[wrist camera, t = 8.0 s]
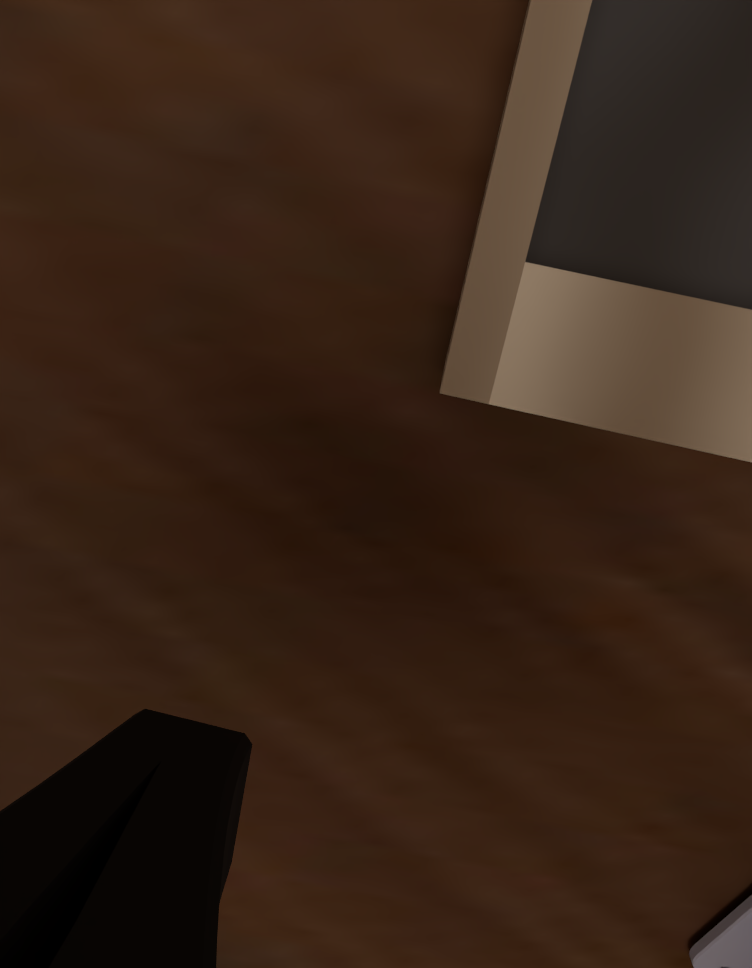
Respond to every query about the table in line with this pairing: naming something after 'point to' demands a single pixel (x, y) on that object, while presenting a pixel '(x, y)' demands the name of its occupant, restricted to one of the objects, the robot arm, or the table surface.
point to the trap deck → (619, 227)
